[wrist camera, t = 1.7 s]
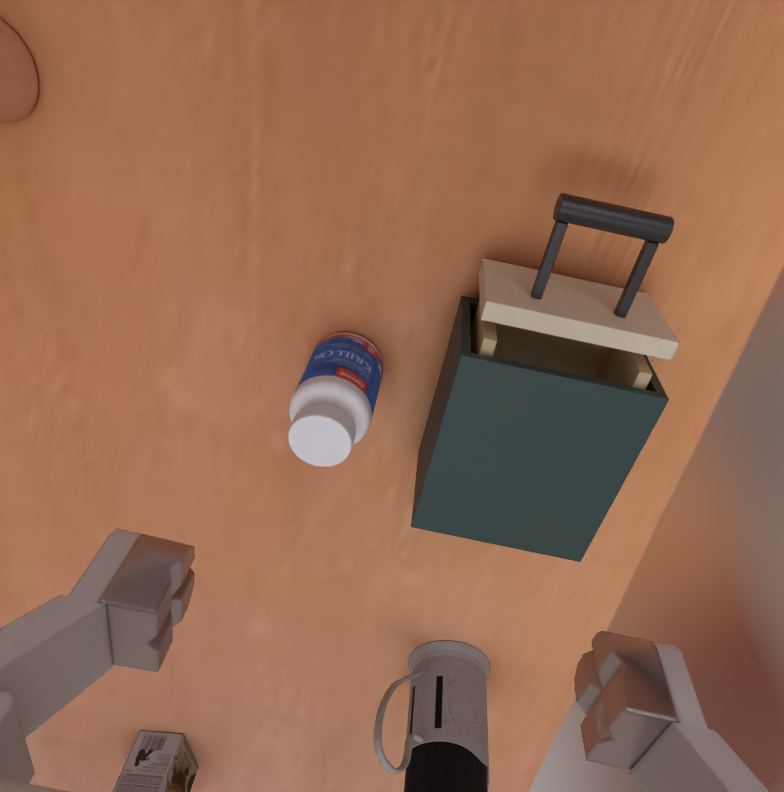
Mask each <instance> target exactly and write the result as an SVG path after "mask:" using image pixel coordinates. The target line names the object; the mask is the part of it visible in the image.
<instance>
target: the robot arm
mask: <svg viewBox="0 0 784 792" xmlns="http://www.w3.org/2000/svg"><path fill="white" fill-rule="evenodd" d="M194 558H195V551H194V546H191V545H187V544H183V543H178V542H174V541H170V540H166V539H162V538H157V537H153V536H149V535H145V534H140V533H136V532H131V531H127V530H122V529H118V528H117V529H116V530H115V531H113V532H112V533H111V534H110V535H109V536H108V538H107V539H106V541H105V542H104V544H103V545H102V547H101V548H100V550H99V551H98V553H97V554H96V555H95V557H94V558H93V560H92V561H91V563H90V564H89V566H88V567H87V569H86V570H85V572H84V573H83V575H82V576H81V578H80V579H79V581H78V582H77V584H76V585H75V587H74V588H73V590H72V591H71V593H70V594H69V596H65V595H59V596H57V597H55V598H54V599H52V600H50V601H48V602H47V603H45V604H43V605H41V606H39V607H38V608H36V609H34V610H32V611H31V612H29V613H27V614H25V615H24V616H22V617H20V618H18V619H16V620H15V621H13V622H11V623H9V624H8V625H6V626H4V627H2V628H0V792H69V791H64V790H59V789H54V788H49V787H44V786H39V785H34V784H29V782H30V780H31V779H32V777H33V775H34V769H33V765H32V761H31V758H30V754H29V751H28V747H27V744H26V740H25V737H27V736H28V735H29V734H30V733H32V732H33V731H34V730H35V729H36V728H38V727H39V726H40V725H41V724H43V723H44V722H45V721H46V720H48V719H49V718H50V717H51V716H53V715H54V714H55V713H56V712H58V711H59V710H60V709H61V708H63V707H64V706H65V705H66V704H68V703H69V702H70V701H71V700H73V699H74V698H75V697H76V696H77V695H79V694H80V693H81V692H82V691H84V690H85V689H86V688H87V687H89V686H90V685H91V684H92V683H94V682H95V681H96V680H97V679H99V678H100V677H101V676H102V675H104V674H105V673H106V672H107V671H109V670H110V669H111V668H112V667H113V666H112V664H114V665H119V666H125V667H131V668H136V669H142V670H148V671H153V672H158V671H159V669H160V667H161V664H162V662H163V660H164V658H165V656H166V654H167V652H168V649H169V647H170V645H171V643H172V627H173V626H174V625H176V624H177V623H179V622H180V621H182V619H183V617H184V614H185V612H186V610H187V608H188V605H189V601H190V598H191V595H192V591H193V586H194V572H193V571H192V569H191V568H190V567H191V565H192V562H193V560H194ZM592 646H593V650H592V651H590V652H587V653H585V654H583V655H582V657H581V659H580V661H579V663H578V664H577V669H576V674H575V694H576V701H577V703H578V705H579V706H580V707H581V709H582V710H583V711H584V713H585V714H586V717H585V718H584V720H583V722H582V724H581V731H582V737H583V743H584V749H585V755H586V760H587V761H592V762H596V763H600V764H604V765H609V766H613V767H617V768H622V769H626V770H630V772H629V774H630V775H631V777H632V779H633V780H634V782H635V783H636V785H637V787H638V788H639V790H640V792H769V791H768V790H767V789H766V788H765V786H764V785H763V784H762V783H761V782H760V781H759V780H758V778H757V777H756V776H755V775H754V774H753V773H752V772H751V771H750V769H749V768H748V767H747V766H746V765H745V764H744V763H743V761H741V759H740V758H739V757H738V756H737V755H736V753H735V752H734V751H733V750H732V749H731V748H730V747H729V746H728V744H727V743H726V742H725V741H724V740H723V739H722V738H721V736H720V735H718V733H717V732H716V731H714V730H710V729H708V728H707V725H706V722H705V719H704V716H703V713H702V710H701V708H700V705H699V702H698V699H697V696H696V693H695V690H694V687H693V685H692V682H691V679H690V676H689V673H688V670H687V667H686V665H685V662H684V659H683V656H682V653H681V651H680V650H679V649H678V648H677V647H676V646H672V645H667V644H662V643H657V642H653V641H649V640H645V639H641V638H635V637H630V636H625V635H620V634H615V633H610V632H605V631H601V632H599V633H597V634H596V635H595V637H594V638H593V640H592Z"/></svg>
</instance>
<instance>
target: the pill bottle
mask: <svg viewBox="0 0 784 792" xmlns="http://www.w3.org/2000/svg"><path fill="white" fill-rule="evenodd" d="M382 374H383V362H382V358H381V355H380V353H379V352H378V350H377V349H376V347H375V346H374V345H373V344H372V343H371V342H370V341H368V340H367V339H365V338H363V337H361V336H359V335H356V334H352V333H336V334H332V335H330V336H328V337H326V338H324V339H323V340H322V341H321V342H320V343H319V344H318V345H317V346H316V348H315V349H314V351H313V353H312V356H311V358H310V360H309V362H308V364H307V366H306V368H305V371H304V373H303V375H302V377H301V379H300V381H299V383H298V386H297V388H296V390H295V392H294V394H293V396H292V399H291V402H290V406H289V415H290V420H291V423H292V424H291V427H290V429H289V433H288V440H289V444H290V447H291V449H292V450H293V452H294V453H295V454H296V455H297V456H298V457H299V458H300V459H302V460H303V461H305V462H307V463H309V464H312V465H315V466H321V467H328V466H334V465H337V464H339V463H341V462H343V461H344V460H345V459H346V458H347V457H348V456H349V454H350V452H351V449H352V446H353V445H354V444H356V443H358V442H359V441H360V440H361V439H362V438H363V437H364V436H365V434H366V432H367V431H368V428H369V425H370V423H371V419H372V415H373V411H374V407H375V403H376V399H377V395H378V391H379V387H380V383H381V379H382Z"/></svg>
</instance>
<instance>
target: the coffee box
mask: <svg viewBox="0 0 784 792" xmlns="http://www.w3.org/2000/svg"><path fill="white" fill-rule="evenodd" d="M197 769H198V766H197V764H196V762H195V760H194V758H193V755H192V753H191V751H190V749H189V747H188V745H187V742H186V740H185V738H184V736H183V734H176V733H163V732H151V731H140V732H139V734H138V736H137V739H136V741H135V743H134V745H133V748H132V750H131V752H130V754H129V756H128V759H127V761H126V763H125V765H124V767H123V770H122V772H121V774H120V776H119V778H118V781H117V783H116V785H115V787H114V789H113V792H190V790H191V787H192V784H193V781H194V778H195V775H196V773H197Z"/></svg>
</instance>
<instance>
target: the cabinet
mask: <svg viewBox="0 0 784 792" xmlns="http://www.w3.org/2000/svg"><path fill="white" fill-rule="evenodd" d="M478 303H479V300H477V299H472V298H468V297H463V296H462V297H461V300H460V304H459V307H458V311H457V315H456V318H455V322H454V326H453V329H452V333H451V337H450V340H449V344H448V347H447V351H446V355H445V358H444V362H443V366H442V369H441V373H440V377H439V380H438V384H437V388H436V391H435V395H434V398H433V402H432V406H431V409H430V413H429V417H428V420H427V424H426V428H425V431H424V435H423V439H422V442H421V446H420V449H419V453H418V463H417V473H416V483H415V493H414V503H413V513H412V523H411V527H414V528H419V529H424V530H429V531H434V532H438V533H443V534H448V535H453V536H458V537H462V538H467V539H472V540H477V541H482V542H487V543H491V544H496V545H501V546H506V547H511V548H516V549H520V550H525V551H530V552H535V553H540V554H545V555H549V556H554V557H559V558H564V559H569V560H574V561H578V562H580V561H581V560H582V558H583V556H584V554H585V552H586V550H587V549H588V547H589V545H590V543H591V541H592V540H593V538H594V536H595V534H596V532H597V530H598V529H599V527H600V525H601V523H602V521H603V519H604V518H605V516H606V514H607V512H608V510H609V508H610V507H611V505H612V503H613V501H614V499H615V497H616V496H617V494H618V492H619V490H620V488H621V486H622V485H623V483H624V481H625V479H626V477H627V476H628V474H629V472H630V470H631V468H632V466H633V465H634V463H635V461H636V459H637V457H638V455H639V454H640V452H641V450H642V448H643V446H644V444H645V443H646V441H647V439H648V437H649V435H650V433H651V432H652V430H653V428H654V426H655V424H656V423H657V421H658V419H659V417H660V415H661V413H662V412H663V410H664V408H665V406H666V404H667V402H668V401H669V399H668V397H667V395H666V393H665V391H664V389H663V387H662V385H661V383H660V381H659V379H658V377H657V376H656V374H655V372H654V370H653V368H652V366H651V364H650V362H649V360H648V358H647V356H646V355H643V356H644V358H645V360H646V362H647V364H648V366H649V368H650V370H651V372H652V374H653V375H652V377H651V379H650V381H649V383H648V385H647V387H646V389H645V390H644V389H639V388H634V387H630V386H625V385H620V384H616V383H611V382H606V381H602V380H597V379H592V378H588V377H583V376H578V375H574V374H569V373H564V372H559V371H555V370H550V369H545V368H541V367H536V366H531V365H527V364H522V363H517V362H513V361H508V360H503V359H499V358H494V357H489V356H485V355H480V354H475V353H471V327H472V323H473V320H474V316H475V313H476V310H477V306H478Z"/></svg>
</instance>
